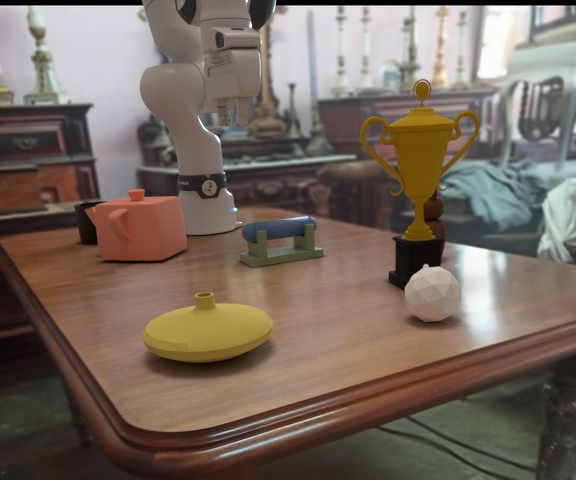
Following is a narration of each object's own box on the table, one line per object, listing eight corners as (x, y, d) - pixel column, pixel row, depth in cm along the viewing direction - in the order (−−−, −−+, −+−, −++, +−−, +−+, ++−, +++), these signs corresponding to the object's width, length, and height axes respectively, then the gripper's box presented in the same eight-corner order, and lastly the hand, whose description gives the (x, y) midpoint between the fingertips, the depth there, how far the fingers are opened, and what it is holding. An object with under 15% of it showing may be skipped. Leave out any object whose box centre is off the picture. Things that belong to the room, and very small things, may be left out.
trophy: (455, 269, 101) (464, 78, 90) (486, 282, 92) (501, 73, 81) (350, 282, 97) (347, 84, 86) (373, 298, 88) (373, 79, 77)
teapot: (198, 245, 134) (191, 182, 129) (152, 269, 114) (142, 196, 109) (121, 245, 139) (111, 185, 134) (65, 268, 120) (51, 198, 114)
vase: (180, 389, 62) (172, 326, 59) (124, 349, 74) (115, 295, 71) (300, 350, 70) (297, 293, 67) (232, 320, 82) (228, 271, 79)
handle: (246, 243, 111) (244, 224, 110) (240, 243, 114) (238, 224, 113) (320, 233, 116) (318, 214, 116) (312, 233, 120) (310, 215, 119)
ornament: (399, 327, 75) (387, 270, 78) (432, 332, 80) (420, 278, 83) (445, 308, 71) (431, 247, 73) (477, 315, 76) (463, 258, 78)
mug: (133, 239, 145) (127, 202, 142) (83, 246, 141) (76, 208, 138) (126, 234, 153) (121, 198, 150) (79, 240, 149) (72, 203, 146)
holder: (240, 260, 117) (237, 227, 115) (308, 250, 122) (306, 218, 120) (252, 267, 111) (249, 233, 109) (323, 256, 116) (322, 223, 114)
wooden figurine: (445, 263, 105) (449, 177, 100) (412, 264, 106) (414, 178, 101) (443, 255, 111) (447, 173, 106) (412, 255, 113) (414, 174, 107)
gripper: (192, 47, 110) (200, 126, 115) (228, 33, 92) (235, 127, 98) (224, 47, 112) (230, 125, 117) (265, 33, 95) (270, 125, 100)
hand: (233, 126), depth 107 cm, fingers open, 8 cm apart
